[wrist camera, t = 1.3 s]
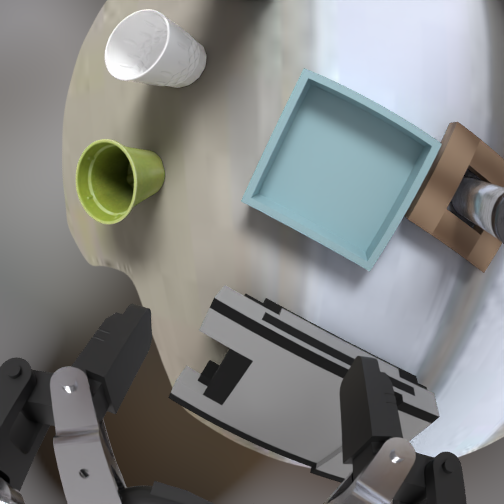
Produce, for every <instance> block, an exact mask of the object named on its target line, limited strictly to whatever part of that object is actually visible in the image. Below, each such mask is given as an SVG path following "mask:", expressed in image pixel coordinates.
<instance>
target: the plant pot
mask: <svg viewBox="0 0 504 504" xmlns="http://www.w3.org/2000/svg"><path fill="white" fill-rule="evenodd" d="M131 167H132V170H131ZM164 178H165V171H164V168H163V165H162V160H161V159H160V157H159V156H158V155H157V154H156V153H154V152H152V151H149V150H144V149H137V148H130V147H125V146H123V145H121V144H120V143H118V142H116V141H114V140H110V139H101V140H97V141H95V142H93V143H92V144H90V145H89V146H88V147H87V148H86V149H85V150H84V152H83V153H82V155H81V157H80V159H79V162H78V165H77V170H76V189H77V194H78V197H79V200H80V202H81V204H82V206H83V208H84V209H85V211H86V212H87V213H88V215H89V216H91V217H92V218H93V219H94V220H96V221H98V222H100V223H103V224H115V223H118V222H120V221H121V220H123V219H124V218H125V217H126V216H127V215H128V214H129V213H130V212H131V210H132V208H133V207H134V206H135V205H137V204H138V203H140V202H142V201H143V200H145V199H147V198H148V197H150V196H152V195H153V194H155V193H156V192H157V191H159V189H160V188H161V186H162V184H163V182H164Z"/></svg>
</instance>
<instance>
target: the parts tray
mask: <svg viewBox="0 0 504 504" xmlns="http://www.w3.org/2000/svg"><path fill="white" fill-rule="evenodd" d="M441 145H442V144H441V143H440V142H439V141H437V140H436V139H434V138H433V137H431V136H430V135H428V134H427V133H425V132H424V131H422V130H421V129H419V128H418V127H416V126H415V125H413V124H411V123H410V122H408V121H407V120H405V119H403V118H402V117H400V116H398V115H397V114H395V113H393V112H392V111H390V110H388V109H386V108H385V107H383V106H381V105H379V104H378V103H376V102H374V101H372V100H370V99H368V98H366V97H365V96H363V95H361V94H359V93H357V92H355V91H353V90H351V89H349V88H347V87H345V86H343V85H341V84H339V83H337V82H334V81H332V80H330V79H328V78H326V77H324V76H321V75H319V74H317V73H314V72H312V71H310V70H307V69H305V68H304V69H303V72H302V74H301V76H300V78H299V80H298V82H297V84H296V86H295V88H294V90H293V92H292V94H291V96H290V98H289V100H288V102H287V104H286V106H285V108H284V110H283V112H282V114H281V116H280V119H279V121H278V123H277V125H276V127H275V129H274V131H273V133H272V135H271V137H270V140H269V142H268V144H267V146H266V148H265V150H264V152H263V154H262V157H261V159H260V161H259V163H258V165H257V167H256V170H255V172H254V174H253V176H252V178H251V180H250V183H249V185H248V187H247V189H246V191H245V194H244V196H243V198H242V200H241V201H242V202H243V203H245V204H247V205H249V206H251V207H253V208H255V209H257V210H259V211H261V212H263V213H265V214H266V215H268V216H270V217H272V218H274V219H276V220H278V221H280V222H281V223H283V224H285V225H287V226H289V227H291V228H293V229H294V230H296V231H298V232H300V233H302V234H304V235H306V236H307V237H309V238H311V239H313V240H315V241H316V242H318V243H320V244H322V245H324V246H326V247H327V248H329V249H331V250H333V251H334V252H336V253H338V254H340V255H342V256H343V257H345V258H347V259H349V260H350V261H352V262H354V263H356V264H357V265H359V266H361V267H363V268H364V269H366V270H368V271H371V269H372V267H373V266H374V264H375V263H376V261H377V260H378V258H379V257H380V255H381V253H382V252H383V250H384V249H385V247H386V245H387V244H388V242H389V240H390V239H391V237H392V235H393V234H394V232H395V230H396V229H397V227H398V225H399V224H400V222H401V220H402V219H403V217H404V215H405V213H406V212H407V210H408V208H409V206H410V205H411V203H412V201H413V199H414V197H415V195H416V194H417V192H418V190H419V188H420V186H421V184H422V182H423V181H424V179H425V177H426V175H427V173H428V171H429V169H430V167H431V165H432V163H433V161H434V159H435V157H436V155H437V153H438V151H439V149H440V147H441Z"/></svg>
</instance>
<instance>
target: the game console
mask: <svg viewBox="0 0 504 504" xmlns="http://www.w3.org/2000/svg"><path fill="white" fill-rule="evenodd" d="M199 331H201V332H203V333H204V334H206V335H208V336H209V337H211V338H213V339H215V340H216V341H218V342H220V343H222V344H223V345H225V346H227V347H229V348H230V349H229V351H228V353H227V354H226V356H225V358H224V359H223V361H222V363H221V365H218V364H216V363H214V362H212V361H211V360H210V361H209V362H208V364H207V365H206V367H205V369H204V370H203V372H202V373H201V374H200V373H198V372H197V371H195V370H193V369H192V368H190V367H188V366H186V367H185V369H184V370H183V371H182V373H181V374H180V376H179V377H178V378H177V380H176V382H175V384H174V386H173V389H172V391H171V393H170V396H169V398H170V399H171V400H173V401H175V402H176V403H178V404H180V405H181V406H183V407H185V408H186V409H188V410H190V411H192V412H193V413H195V414H197V415H199V416H201V417H202V418H204V419H206V420H208V421H210V422H212V423H214V424H215V425H217V426H219V427H221V428H223V429H225V430H227V431H229V432H231V433H233V434H235V435H237V436H239V437H241V438H243V439H246V440H248V441H250V442H252V443H254V444H256V445H259V446H261V447H263V448H265V449H268V450H270V451H272V452H275V453H277V454H280V455H282V456H285V457H287V458H290V459H292V460H295V461H297V462H300V463H303V464H305V465H308V466H311V473H313V474H316V475H319V476H322V477H325V478H328V479H331V480H335V481H338V482H341V483H342V482H343V481H344V480H345V478H346V477H347V476H348V475H349V474H350V472H351V471H353V464H343V455H342V429H341V410H340V395H339V393H340V386H341V382H342V380H343V378H344V377H345V375H346V373H347V372H348V370H349V368H350V367H351V365H352V363H353V362H354V360H355V358H356V357H357V356H364V357H372V358H376V359H377V360H378V364H379V369H380V372H385V373H386V374H387V376H388V377H389V379H390V380H391V382H392V385H393V389H394V396H395V398H396V405H397V408H398V413H399V418H400V424H401V429H402V435H403V438H404V439H405V440H407V441H408V442H409V441H410V440H411V439H413V438H414V437H415V436H417V435H418V434H419V433H420V432H422V431H423V430H424V429H425V428H427V427H428V426H429V425H430V424H431V423H433V422H434V421H435V420H436V419H437V418H439V412H438V408H437V404H436V399H435V395H434V393H432V392H430V391H428V390H427V388H426V387H425V386H423V385H420V384H418V383H417V378H416V376H414V375H412V374H410V373H408V372H406V371H404V370H402V369H400V368H398V367H396V366H394V365H392V364H390V363H388V362H386V361H384V360H382V359H380V358H378V357H376V356H374V355H372V354H370V353H368V352H366V351H365V350H363V349H361V348H359V347H357V346H355V345H353V344H351V343H349V342H347V341H345V340H343V339H341V338H339V337H338V336H336V335H334V334H332V333H330V332H328V331H326V330H324V329H322V328H320V327H319V326H317V325H315V324H313V323H311V322H309V321H307V320H305V319H304V318H302V317H300V316H298V315H296V314H294V313H293V312H291V311H289V310H287V309H285V308H283V307H282V306H280V305H278V304H276V303H274V302H272V301H271V300H269V299H267V298H266V299H265V301H264V303H262V302H260V301H258V300H256V299H254V298H253V297H251V296H249V295H247V294H245V295H242V294H240V293H238V292H237V291H235V290H233V289H231V288H229V287H228V286H226V285H225V286H224V287H223V288H222V289H221V290H220V292H219V293H218V294H217V295H216V296H215V298H214V300H213V302H212V304H211V306H210V308H209V310H208V312H207V315H206V317H205V319H204V321H203V323H202V325H201V327H200V330H199Z"/></svg>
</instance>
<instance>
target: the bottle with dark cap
mask: <svg viewBox="0 0 504 504" xmlns="http://www.w3.org/2000/svg"><path fill="white" fill-rule="evenodd" d="M451 201H452V205H453V207H454V209H455V210H456V211H457V212H458V213H459V214H460V215H462V216H464V217H465V218H467V219H468V220H470V221H471V222H473V223H475V224H476V225H478V226H479V227H481V228H482V229H484V230H485V231H487V232H488V233H490V234H491V235H493V236H494V237H496V238H497V239H498V240H499V241H500V242H502V243H503V244H504V187H500V186H497V185H494V184H491V183H487V182H484V181H480V180H477V179H473V178H469V177H465V178H462V180H461V182H460V184H459V186H458V188H457V190H456V192H455V194H454V196H453V198H452V200H451Z"/></svg>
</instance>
